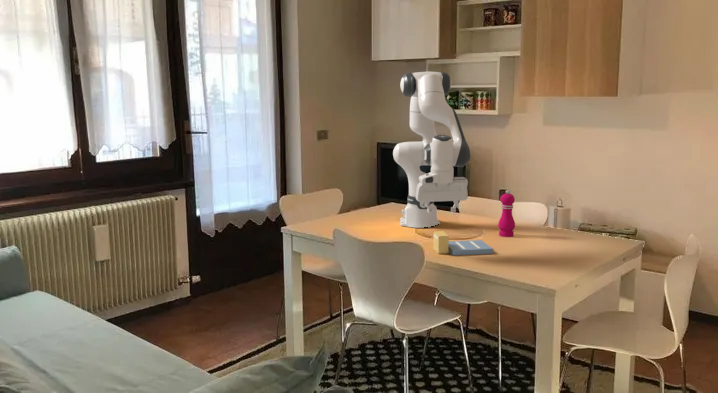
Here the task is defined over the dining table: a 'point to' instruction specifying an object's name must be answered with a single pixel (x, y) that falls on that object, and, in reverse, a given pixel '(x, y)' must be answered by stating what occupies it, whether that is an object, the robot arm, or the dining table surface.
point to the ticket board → (469, 247)
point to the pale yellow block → (440, 242)
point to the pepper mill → (506, 215)
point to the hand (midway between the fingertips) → (441, 212)
